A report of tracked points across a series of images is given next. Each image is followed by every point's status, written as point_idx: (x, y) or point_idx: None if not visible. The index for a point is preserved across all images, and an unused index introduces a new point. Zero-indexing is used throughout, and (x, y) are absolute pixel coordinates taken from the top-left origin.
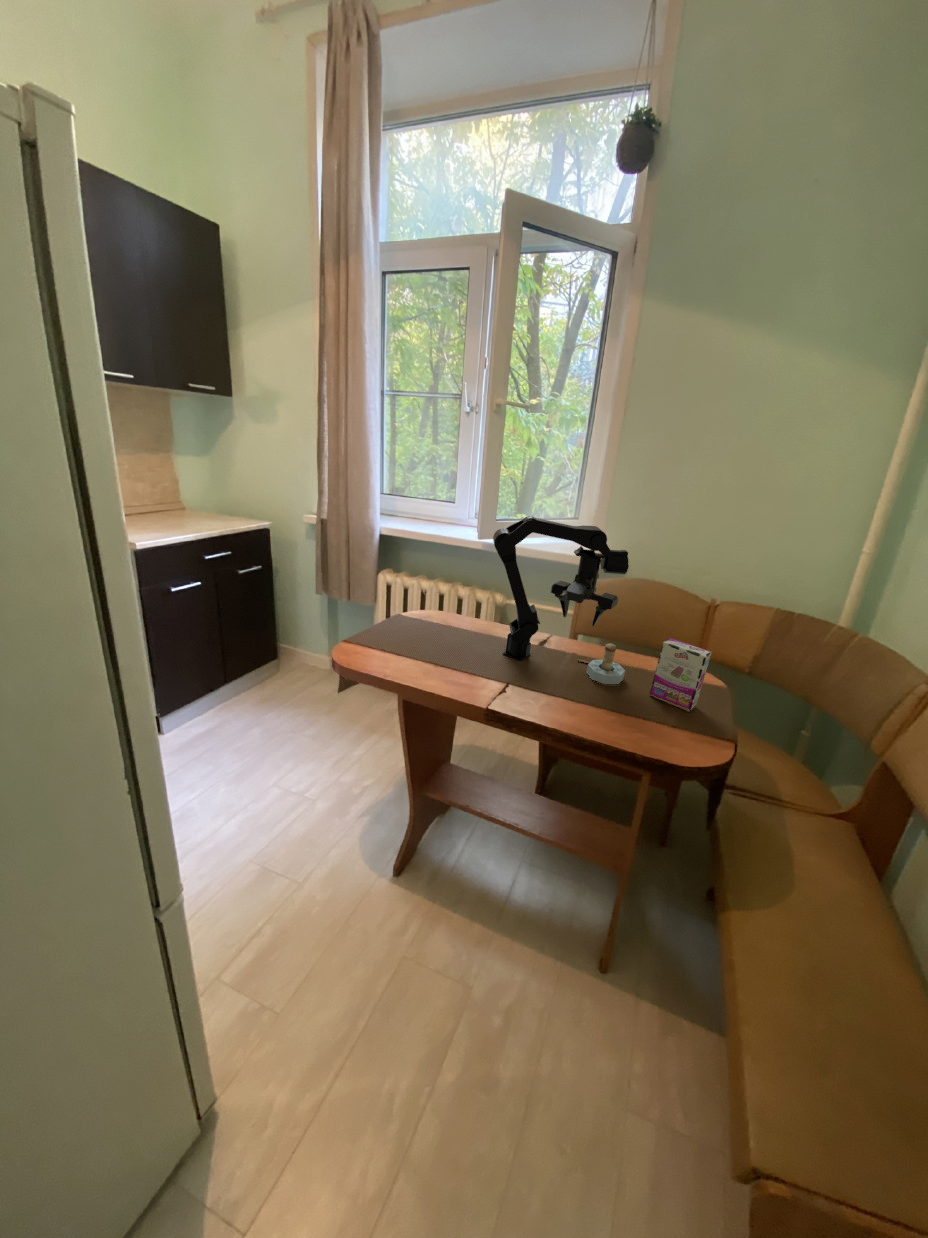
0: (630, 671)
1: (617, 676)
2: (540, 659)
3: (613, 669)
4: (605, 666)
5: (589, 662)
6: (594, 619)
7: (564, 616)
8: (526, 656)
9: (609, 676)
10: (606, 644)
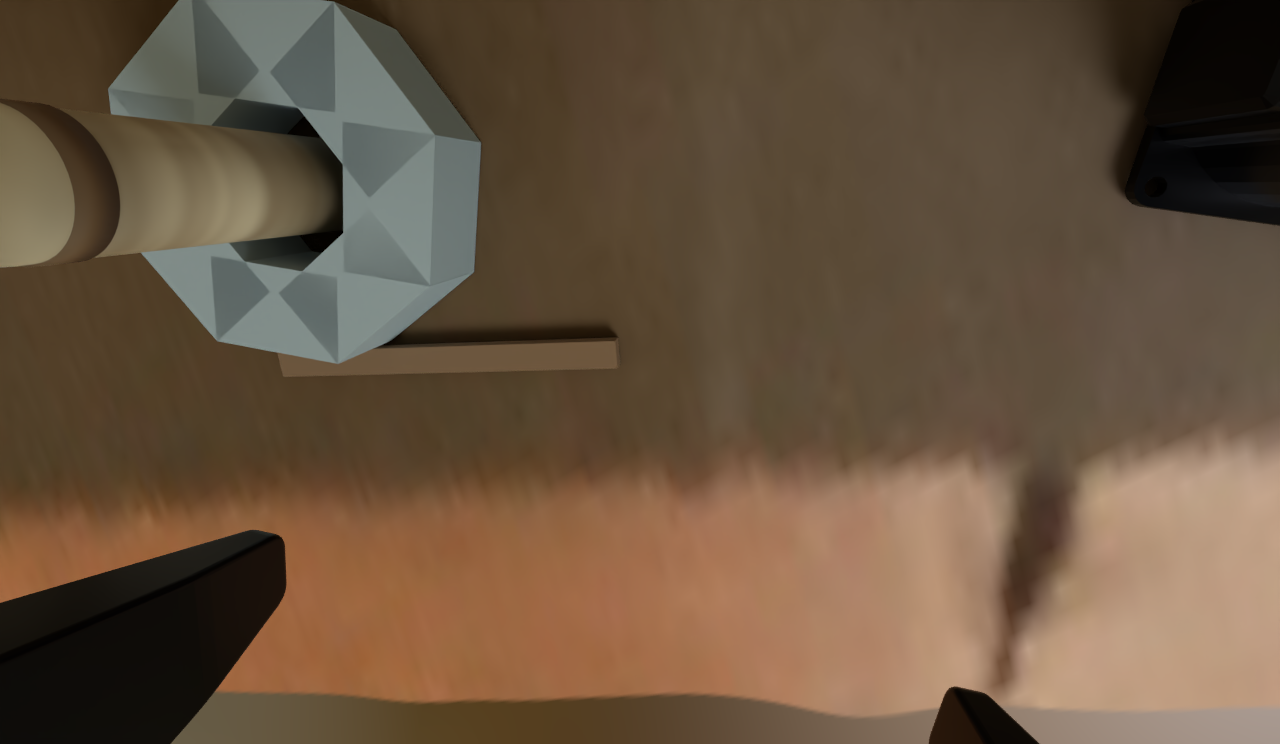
0: (222, 415)
1: (131, 67)
2: (977, 150)
3: None
4: (239, 129)
5: (513, 356)
6: (76, 607)
7: (969, 699)
8: (1175, 34)
9: (181, 6)
10: (41, 185)
